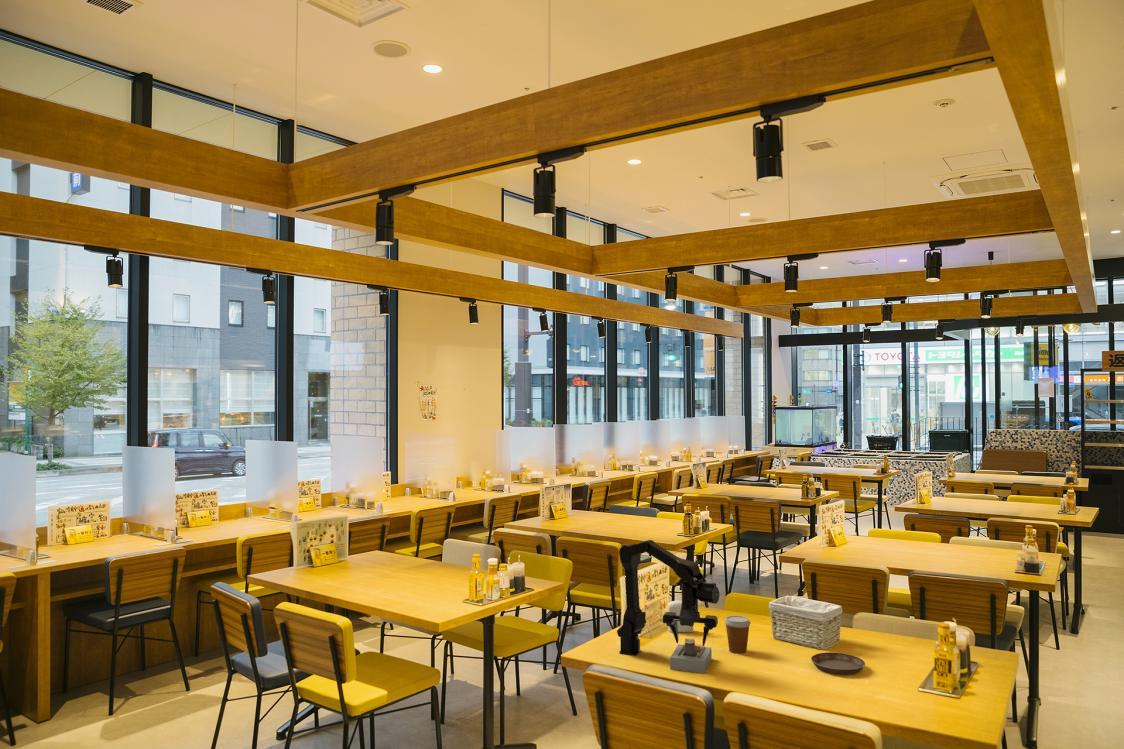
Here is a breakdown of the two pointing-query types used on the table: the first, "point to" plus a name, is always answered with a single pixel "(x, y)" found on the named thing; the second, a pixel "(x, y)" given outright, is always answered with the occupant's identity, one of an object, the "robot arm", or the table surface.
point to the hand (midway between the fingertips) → (690, 644)
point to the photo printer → (676, 607)
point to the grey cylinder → (689, 647)
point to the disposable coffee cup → (737, 633)
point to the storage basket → (806, 621)
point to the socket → (690, 660)
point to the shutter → (697, 647)
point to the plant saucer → (838, 663)
